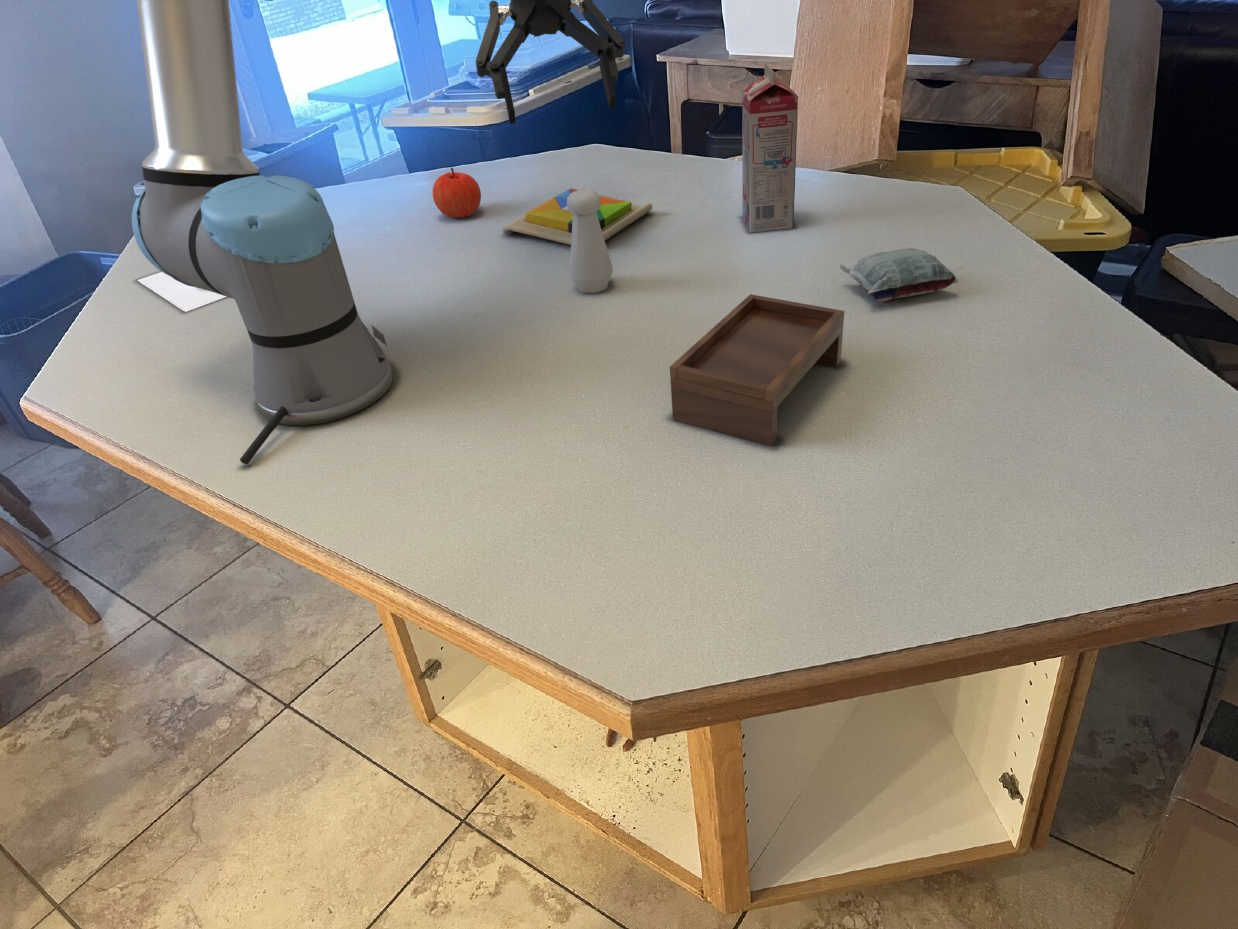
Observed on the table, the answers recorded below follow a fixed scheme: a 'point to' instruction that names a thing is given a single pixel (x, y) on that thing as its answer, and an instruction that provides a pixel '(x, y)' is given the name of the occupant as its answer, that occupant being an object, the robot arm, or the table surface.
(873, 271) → the packaged food
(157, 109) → the robot arm
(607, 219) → the wooden puzzle
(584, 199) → the salt shaker
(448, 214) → the apple
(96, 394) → the table surface
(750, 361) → the spice rack
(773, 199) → the juice carton
